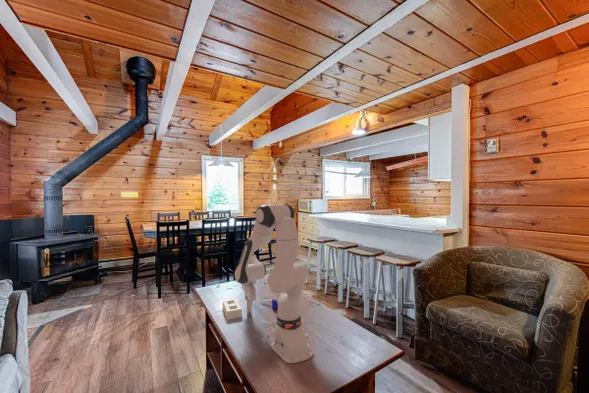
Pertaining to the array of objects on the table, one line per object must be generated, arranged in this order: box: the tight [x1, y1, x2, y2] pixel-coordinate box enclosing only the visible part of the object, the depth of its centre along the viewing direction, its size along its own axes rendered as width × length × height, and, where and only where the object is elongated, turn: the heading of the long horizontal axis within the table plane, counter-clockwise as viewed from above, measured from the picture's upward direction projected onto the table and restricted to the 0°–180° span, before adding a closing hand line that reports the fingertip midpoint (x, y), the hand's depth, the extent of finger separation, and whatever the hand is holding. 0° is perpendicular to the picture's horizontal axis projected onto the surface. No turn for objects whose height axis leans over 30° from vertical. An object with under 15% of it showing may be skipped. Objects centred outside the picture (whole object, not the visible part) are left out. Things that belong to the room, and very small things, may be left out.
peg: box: [246, 299, 253, 318], centre depth 157 cm, size 3×3×10 cm
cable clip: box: [271, 299, 278, 311], centre depth 171 cm, size 12×4×6 cm, turn 142°
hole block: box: [222, 298, 243, 321], centre depth 161 cm, size 16×9×5 cm, turn 24°
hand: (248, 302), depth 158 cm, fingers open, 8 cm apart
